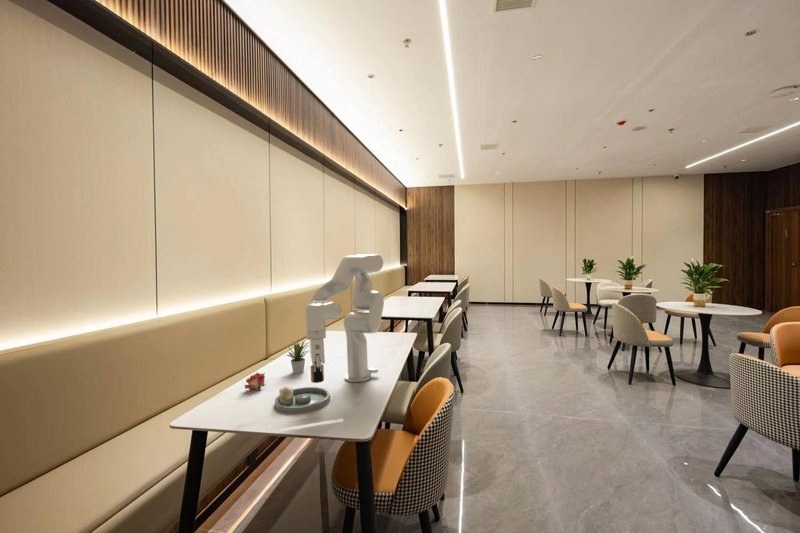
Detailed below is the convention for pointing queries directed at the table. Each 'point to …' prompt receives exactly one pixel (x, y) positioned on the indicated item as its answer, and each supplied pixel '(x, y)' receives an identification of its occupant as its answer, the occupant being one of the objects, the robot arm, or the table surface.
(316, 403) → the groove tray
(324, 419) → the table surface
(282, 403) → the cream pillar candle
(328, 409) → the table surface
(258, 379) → the flower
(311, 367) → the walnut bead
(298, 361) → the house plant
